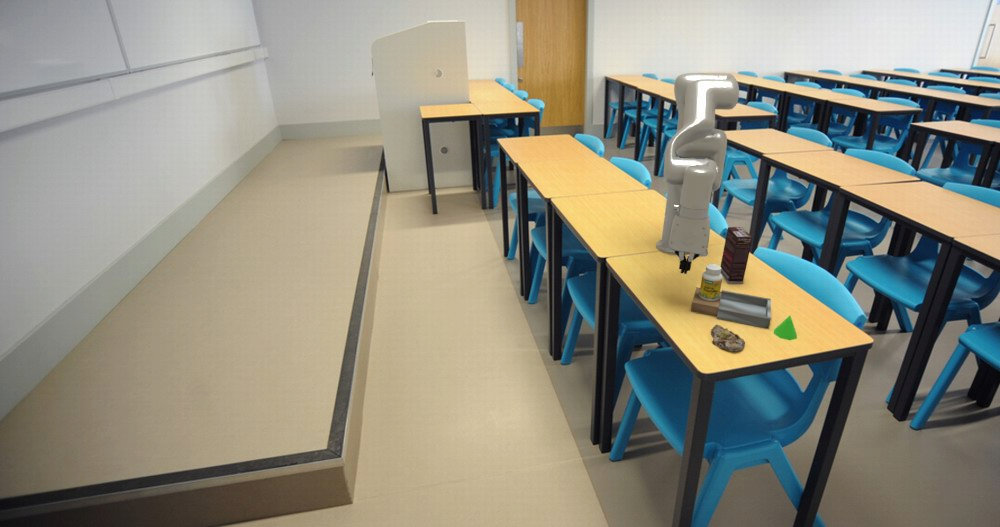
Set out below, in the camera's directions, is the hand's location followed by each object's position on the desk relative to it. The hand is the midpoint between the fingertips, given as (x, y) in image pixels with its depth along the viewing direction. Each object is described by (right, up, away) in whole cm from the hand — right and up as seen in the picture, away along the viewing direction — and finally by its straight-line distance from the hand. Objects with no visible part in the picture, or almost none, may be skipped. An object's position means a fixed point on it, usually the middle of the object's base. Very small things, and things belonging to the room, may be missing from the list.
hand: (684, 271), depth 150 cm
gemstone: (+22, -17, -12) cm, 30 cm away
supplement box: (+21, -2, +17) cm, 27 cm away
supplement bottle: (+7, -7, 0) cm, 10 cm away
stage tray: (+12, -11, -1) cm, 16 cm away
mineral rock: (+6, -18, -15) cm, 24 cm away
